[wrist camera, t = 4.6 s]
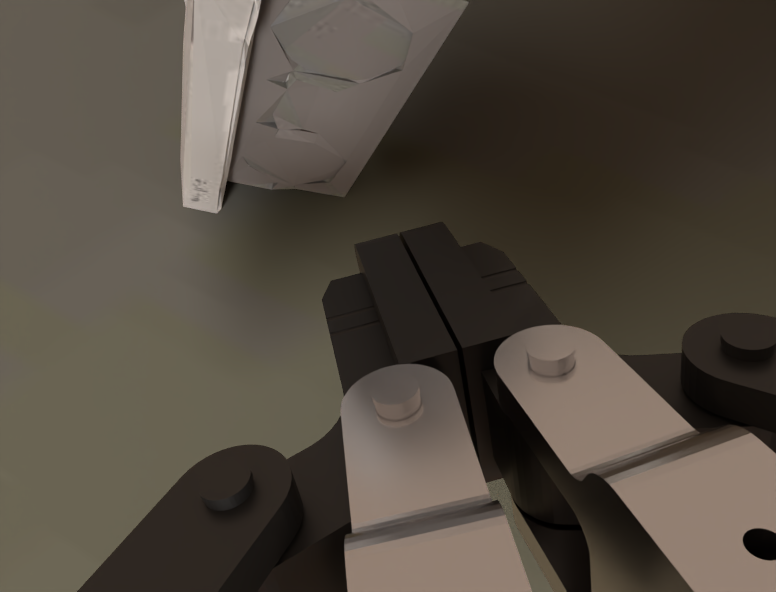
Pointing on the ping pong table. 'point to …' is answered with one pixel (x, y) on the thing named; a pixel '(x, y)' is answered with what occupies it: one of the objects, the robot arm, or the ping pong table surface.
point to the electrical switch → (297, 88)
